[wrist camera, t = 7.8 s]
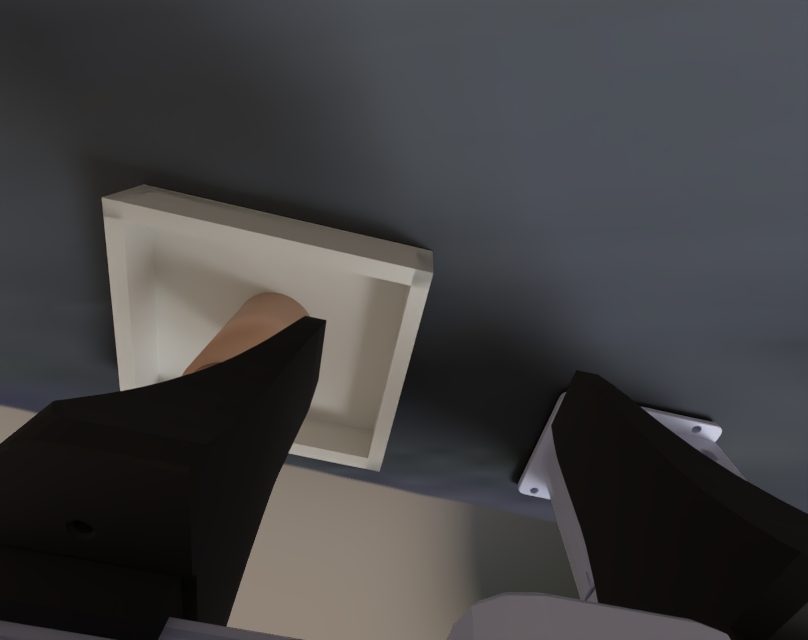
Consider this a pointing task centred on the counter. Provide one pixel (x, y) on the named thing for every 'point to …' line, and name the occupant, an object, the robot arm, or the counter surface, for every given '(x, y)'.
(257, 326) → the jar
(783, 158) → the counter surface
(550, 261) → the counter surface
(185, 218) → the tray
